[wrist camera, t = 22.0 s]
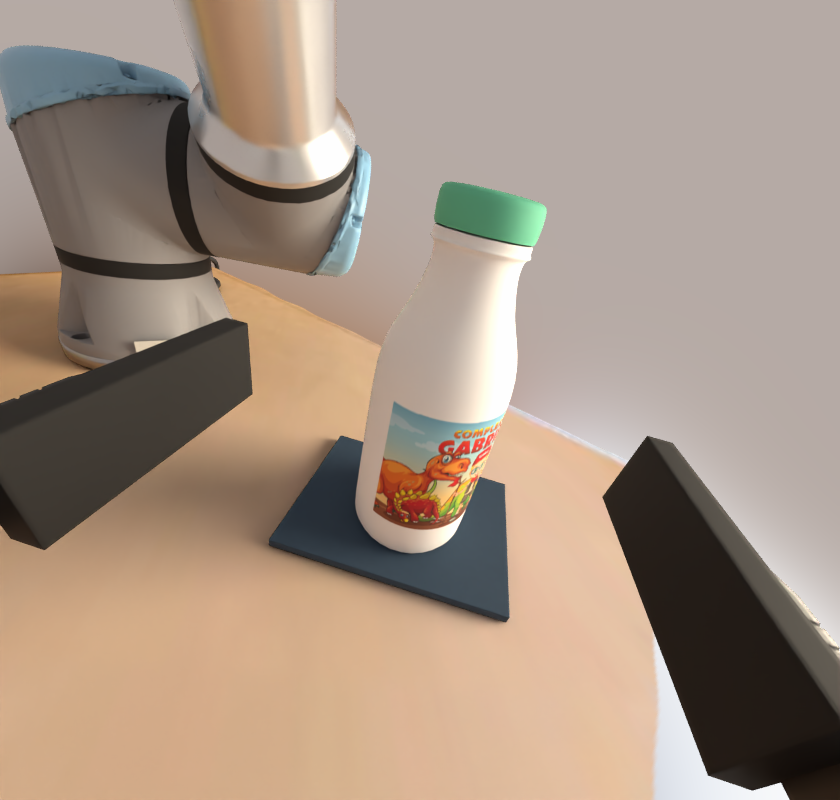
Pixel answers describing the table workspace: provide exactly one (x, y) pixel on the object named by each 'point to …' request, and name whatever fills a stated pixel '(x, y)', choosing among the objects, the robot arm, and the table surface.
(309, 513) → the placemat
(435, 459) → the milk bottle
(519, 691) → the table surface
